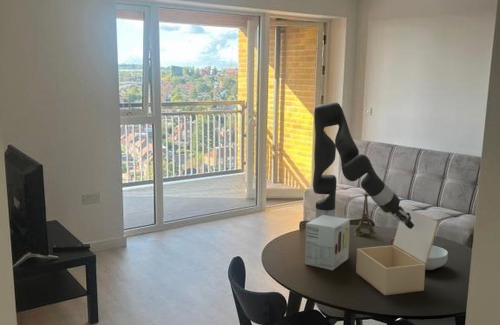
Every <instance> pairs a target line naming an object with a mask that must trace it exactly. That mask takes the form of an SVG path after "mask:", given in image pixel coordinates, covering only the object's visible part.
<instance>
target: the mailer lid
mask: <svg viewBox="0 0 500 325" xmlns="http://www.w3.org/2000/svg"><path fill="white" fill-rule="evenodd" d="M402 208H403V209H404V211H405V212H406V213H407V212H408V213H409V214H410V216H411V220H410V221H411V222H412V223H413V224H414V227H413V228H412V229H409V228H408V227H407V226H406V225H405V224H404V223H403V222H401V221H400V220H399V222H398V226H397V229H396V234H395V236H394V238H395V239H394V243H393V245H394V246H396V247H398V248H399V249H401V250H403V251H405V252H406V253H408V254H410V255H411V256H413V257H415V258H417V259H418V260H420V261H422V262H423V263H425V264H427V261H428V258H429V254H430V251H431V248H432V245H433V243H434V240H435V237H436V234H437V230H438V227H439V224H440V222H439V221H437V220H436V219H433V218H431V217H428V216H426V215H424V214H421V213H419V212H416V211H415V210H412V209H409V208H407V207H404V206H403V207H402Z"/></svg>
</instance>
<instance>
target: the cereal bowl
mask: <svg viewBox="0 0 500 325" xmlns="http://www.w3.org/2000/svg"><path fill="white" fill-rule="evenodd" d="M405 253H406V252H405ZM407 254H408V253H407ZM408 255H410V254H408ZM410 256H411V255H410ZM448 256H449V253H448V251H447V250H446V249H445V248H442V247H440V246H436V245H433V244H432V248H431V251H430V254H429V258H428V261H427V264H425V263H424V264H425V271H433V270H435V269H438V268H441V267H443V266H444V265H445V264H446V263H447V261H448ZM412 257H413V256H412ZM413 258H415V257H413ZM415 259H417V258H415ZM417 260H418V259H417ZM419 261H420V260H419ZM420 262H422V261H420ZM422 263H423V262H422Z"/></svg>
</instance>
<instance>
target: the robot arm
mask: <svg viewBox="0 0 500 325" xmlns="http://www.w3.org/2000/svg"><path fill="white" fill-rule="evenodd" d="M313 116H314V133H315V134H314V154H313V155H314V157H313V158H314V161H313V162H314V170H313V179H312V180H313V181H312V190H313V192H314V194H317V195H328V196H327V197H325V198H323V199H320V200H317V201H316V202H315V214H314V215H315V216H314V217H315V218H317V217H319V216H321V215H328V216H334V217H336V193H337V177H336V175H334V174H324V172H325V171H327V170H328V169H329V168H330V167H331V165H333V163H334V162H335V160H336V154H337V153H336V152H338V154H339V157H340V164H341V172H342V174H343V177H344V178H345V179H346V180H347V181H349V182H356V181H357V180H359V179H360V178H361V177H363V176H364V175H365V176H364V177H363V179H362V180H361V182H360V186H361V188H362V189H363V190H364V191H365V193H366V192H367V194H368V197H370V198H371V199H372V201H373V202H374V203H375V204H376V206H378V207H379V208H380V209H381V210H382V211H383V212H384V213H388V214H390V215H391V216H393V217H394V218H395V219H396V220H398V221H399V222H400V221H401V222H403V223H404V224H405V225H406V226H407V227H408V228H409V229H412V228H413V227H414V224H413V223H412V222H411V221H410V220H411V216H410V214H409V213H408V212H407V213H406V212H405V211H404V209H403V208H404V207H403V206H401V205H400V202H401V201H400V200H401V199H400V198H399V196H398V195H397V194H395V192H394V191H393V190H392V189H391V188H390V187H389V186H388V185H387V184H386V183H385V182H384V181H383V180H382V179H381V178H380V177H379V176H378V174H377V173H376V171H375V169H374V167H373V165H372V163H371V161H370V158H369V157H368V156H367V155H365V154H363V153H362V154H360V150H359V148H358V146H357V144H356V142H355V141H354V139H353V137H352V135H351V132H350V129H349V125H348V122H347V119H346V117H345V112H344V111H343V108H342V106H341V104H340V103H338V102H329V103H324V104H319V105H317V106H315V108H314V112H313ZM333 126H338V129H337V133H336V136H335V138H334V139H335V140H334V141H333V139H332V138H331V137H330V136H329V135H328V134H327V132H326V131H325V128H328V127H333ZM315 218H314V219H315Z"/></svg>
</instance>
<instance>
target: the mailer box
mask: <svg viewBox="0 0 500 325" xmlns="http://www.w3.org/2000/svg"><path fill="white" fill-rule="evenodd" d="M355 264H356V266H355V267H356V268H355V270H356V271H355V272H356V274H357V275H358V276H359V277H360V278H361V277H362V279H363V280H365V281H366V282H367V283H369V284H370V285H371V286H372V287H374V288H375V289H376V290H377V291H379V292H380V293H381V294H382V295H384V296H389V295H398V294H406V293H413V292H422V291H425V278H426V277H425V276H426V275H425V274H426V270H425V264H424V263H422V262H420V261H419V260H417V259H415V258H413V257H412V256H410V255H408V254H407V253H405V252H403V251H401V250H400V249H398V248H396V247H395V246H393V245H392V246H391V245H382V246H381V245H380V246H371V247H361V248H360V247H359V248H356V263H355Z"/></svg>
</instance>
